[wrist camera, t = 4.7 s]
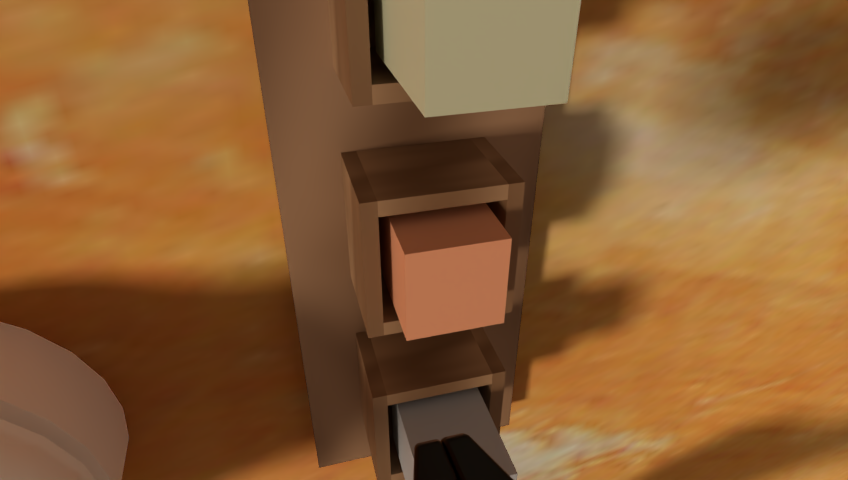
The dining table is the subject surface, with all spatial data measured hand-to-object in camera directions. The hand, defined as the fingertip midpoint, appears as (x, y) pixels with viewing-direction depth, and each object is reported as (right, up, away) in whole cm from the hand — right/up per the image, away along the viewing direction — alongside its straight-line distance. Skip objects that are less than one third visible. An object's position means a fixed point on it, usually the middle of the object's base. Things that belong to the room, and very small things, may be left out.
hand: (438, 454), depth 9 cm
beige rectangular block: (0, +10, +6) cm, 11 cm away
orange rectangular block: (-1, +4, +11) cm, 12 cm away
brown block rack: (-1, +5, +12) cm, 13 cm away
